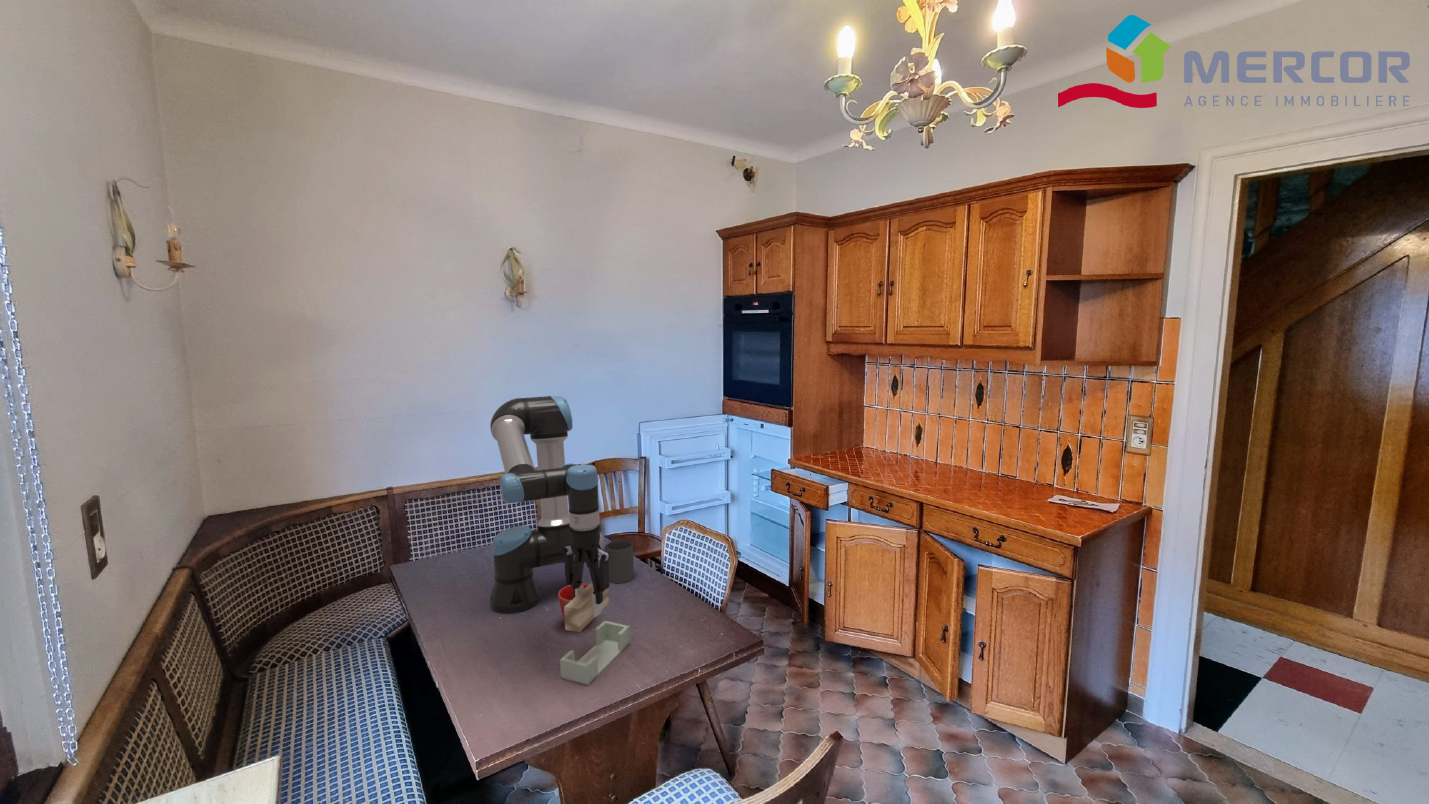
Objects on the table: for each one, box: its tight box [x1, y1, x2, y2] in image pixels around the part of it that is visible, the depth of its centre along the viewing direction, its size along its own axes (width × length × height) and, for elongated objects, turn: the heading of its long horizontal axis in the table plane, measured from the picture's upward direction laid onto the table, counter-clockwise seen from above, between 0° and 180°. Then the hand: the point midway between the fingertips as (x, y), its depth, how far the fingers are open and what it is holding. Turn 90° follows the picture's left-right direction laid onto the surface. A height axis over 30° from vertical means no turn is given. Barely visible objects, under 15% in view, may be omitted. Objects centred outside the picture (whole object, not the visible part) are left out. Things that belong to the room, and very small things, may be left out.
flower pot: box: [557, 583, 592, 628], centre depth 169 cm, size 11×11×10 cm
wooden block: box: [564, 582, 610, 633], centre depth 148 cm, size 4×16×6 cm, turn 164°
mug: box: [604, 539, 635, 584], centre depth 200 cm, size 14×9×12 cm
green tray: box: [559, 620, 631, 686], centre depth 151 cm, size 8×20×5 cm, turn 158°
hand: (588, 612), depth 149 cm, fingers closed on wooden block, 4 cm apart
